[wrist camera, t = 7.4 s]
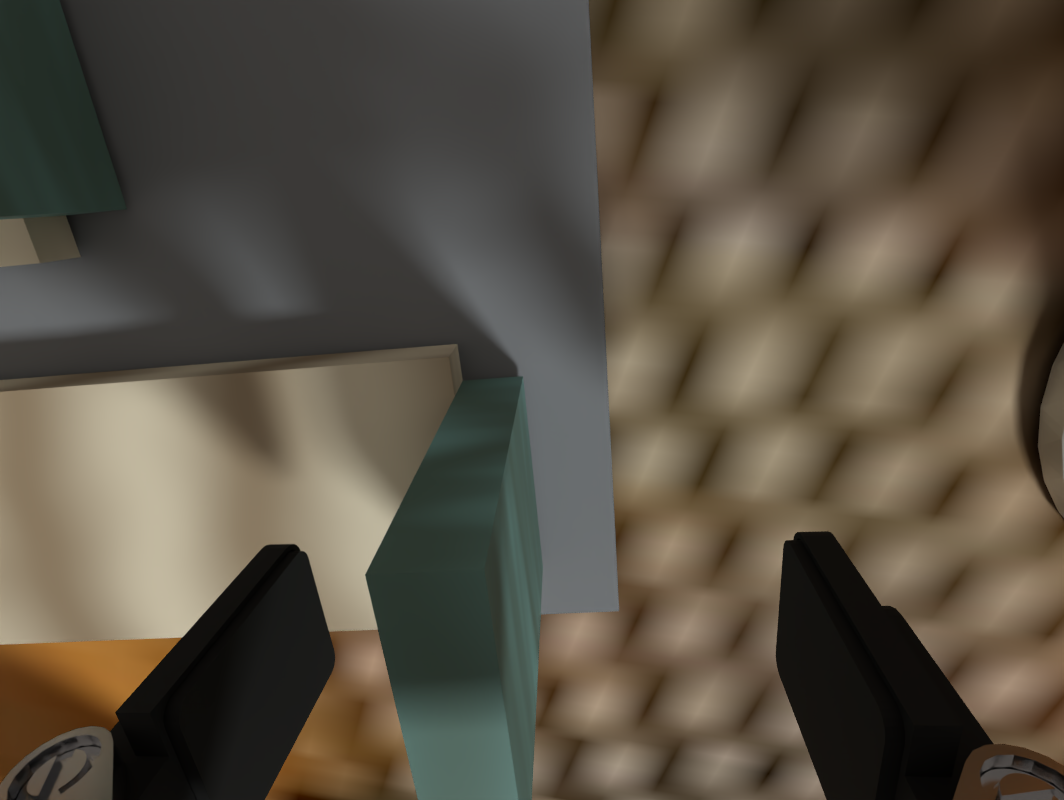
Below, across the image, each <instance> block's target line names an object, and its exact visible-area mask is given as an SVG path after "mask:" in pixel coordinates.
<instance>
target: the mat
mask: <svg viewBox="0 0 1064 800" xmlns="http://www.w3.org/2000/svg"><path fill="white" fill-rule="evenodd" d="M59 1H60V4H61V7H62V10H63V13H64V16H65V19H66V22H67V25H68V28H69V31H70V34H71V38H72V41H73V44H74V47H75V50H76V53H77V56H78V59H79V62H80V65H81V68H82V72H83V75H84V78H85V81H86V84H87V87H88V90H89V93H90V96H91V99H92V102H93V105H94V109H95V112H96V115H97V118H98V121H99V124H100V127H101V130H102V133H103V136H104V139H105V143H106V146H107V149H108V152H109V155H110V158H111V161H112V164H113V167H114V170H115V173H116V176H117V180H118V183H119V186H120V189H121V192H122V195H123V198H124V201H125V204H126V207H127V209H124V210H115V211H105V212H95V213H85V214H76V215H66V217H67V220H68V223H69V225H70V228H71V231H72V234H73V237H74V239H75V242H76V245H77V248H78V250H79V253H80V256H81V257H78V258H71V259H65V260H58V261H52V262H45V263H37V264H27V265H17V266H6V267H0V380H8V379H20V378H33V377H45V376H58V375H71V374H83V373H96V372H109V371H121V370H134V369H146V368H159V367H172V366H184V365H197V364H210V363H222V362H235V361H248V360H260V359H273V358H285V357H298V356H311V355H323V354H336V353H349V352H361V351H374V350H387V349H399V348H412V347H424V346H437V345H450V344H458V351H459V358H460V365H461V372H462V379H463V381H464V380H478V379H491V378H505V377H518V376H523V380H524V390H525V400H526V409H527V419H528V428H529V438H530V448H531V457H532V467H533V476H534V486H535V496H536V505H537V515H538V524H539V534H540V544H541V553H542V563H543V576H542V597H541V614H559V613H584V612H608V611H619V600H618V580H617V560H616V540H615V520H614V500H613V480H612V460H611V440H610V420H609V400H608V380H607V360H606V340H605V320H604V300H603V280H602V260H601V240H600V220H599V200H598V180H597V160H596V140H595V120H594V100H593V80H592V60H591V40H590V20H589V0H59Z"/></svg>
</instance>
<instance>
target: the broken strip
mask: <svg viewBox="0 0 1064 800" xmlns="http://www.w3.org/2000/svg"><path fill="white" fill-rule="evenodd" d="M124 209H127V207H126V204H125V201H124V198H123V195H122V192H121V189H120V186H119V183H118V180H117V176H116V173H115V170H114V167H113V164H112V161H111V158H110V155H109V152H108V149H107V146H106V143H105V139H104V136H103V133H102V130H101V127H100V124H99V121H98V118H97V115H96V112H95V109H94V105H93V102H92V99H91V96H90V93H89V90H88V87H87V84H86V81H85V78H84V75H83V72H82V68H81V65H80V62H79V59H78V56H77V53H76V50H75V47H74V44H73V41H72V38H71V34H70V31H69V28H68V25H67V22H66V19H65V16H64V13H63V10H62V7H61V4H60V1H59V0H0V267H6V266H17V265H27V264H37V263H45V262H52V261H58V260H65V259H71V258H78V257H81V256H80V253H79V250H78V248H77V245H76V242H75V239H74V237H73V234H72V231H71V228H70V225H69V223H68V220H67V217H66V215H76V214H85V213H95V212H105V211H115V210H124Z"/></svg>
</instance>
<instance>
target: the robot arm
mask: <svg viewBox="0 0 1064 800" xmlns="http://www.w3.org/2000/svg"><path fill="white" fill-rule="evenodd" d="M1038 449H1039V455H1040V461H1041V467H1042V473H1043V478H1044V482H1045V484H1046V486H1047V489H1048V491H1049V493H1050V495H1051V497H1052V499H1053V501H1054V504H1055V506H1056V508H1057V510H1058V512H1059V513H1060V514H1061V515H1062V516H1063V518H1064V343H1063V345H1062V347H1061V349H1060V351H1059V353H1058V355H1057V357H1056V359H1055V361H1054V363H1053V366H1052V369H1051V373H1050V376H1049V380H1048V383H1047V386H1046V390H1045V393H1044V397H1043V400H1042V404H1041V408H1040V423H1039V437H1038ZM334 662H335V653H334V648H333V645H332V641H331V638H330V634H329V630H328V627H327V623H326V619H325V616H324V612H323V609H322V605H321V601H320V598H319V594H318V590H317V587H316V583H315V580H314V576H313V572H312V569H311V565H310V561H309V558H308V555H307V553H306V552H304V551H301V550H300V548H299V547H298V546H297V545H295V544H269V545H266V546H264V547H263V548H262V549H261V550H260V551H259V552H258V553H257V554H256V556H255V557H254V558H253V559H252V560H251V561H250V562H249V563H248V565H247V566H246V567H245V568H244V569H243V570H242V571H241V572H240V574H239V575H238V576H237V577H236V578H235V579H234V580H233V581H232V582H231V584H230V585H229V586H228V587H227V588H226V589H225V590H224V591H223V593H222V594H221V595H220V596H219V597H218V598H217V599H216V600H215V601H214V603H213V604H212V605H211V606H210V607H209V608H208V609H207V610H206V612H205V613H204V614H203V615H202V616H201V617H200V618H199V619H198V621H197V622H196V623H195V624H194V625H193V626H192V627H191V628H190V629H189V631H188V632H187V633H186V634H185V635H184V636H183V637H182V638H181V640H180V641H179V642H178V643H177V644H176V645H175V646H174V647H173V649H172V650H171V651H170V652H169V653H168V654H167V655H166V656H165V657H164V659H163V660H162V661H161V662H160V663H159V664H158V665H157V666H156V668H155V669H154V670H153V671H152V672H151V673H150V674H149V675H148V677H147V678H146V679H145V680H144V681H143V682H142V683H141V684H140V685H139V687H138V688H137V689H136V690H135V691H134V692H133V693H132V694H131V696H130V697H129V698H128V699H127V700H126V701H125V702H124V703H123V705H122V706H121V707H120V708H119V709H118V710H117V711H116V712H115V713H116V715H117V717H118V719H119V722H118V723H117V724H116V725H115V726H114V728H113V729H112V730H111V731H108V730H107V729H105V728H104V727H96V726H89V727H83V728H78V729H75V730H72V731H69V732H67V733H64V734H61V735H59V736H57V737H55V738H54V739H52V740H50V741H48V742H46V743H44V744H42V745H41V746H40V747H38V748H37V749H35V750H34V751H33V752H31V753H30V754H29V755H27V756H26V757H25V758H23V759H22V760H21V761H20V762H19V763H18V764H17V765H16V766H15V767H14V768H13V769H12V770H11V771H10V772H9V773H8V775H7V776H6V777H5V778H4V780H3V781H2V782H1V784H0V800H265V798H266V796H267V794H268V793H269V791H270V789H271V787H272V785H273V783H274V781H275V779H276V777H277V775H278V774H279V772H280V770H281V768H282V766H283V764H284V762H285V760H286V758H287V756H288V755H289V753H290V751H291V749H292V747H293V745H294V743H295V741H296V739H297V737H298V736H299V734H300V732H301V730H302V728H303V726H304V724H305V722H306V720H307V718H308V717H309V715H310V713H311V711H312V709H313V707H314V705H315V703H316V701H317V699H318V698H319V696H320V694H321V692H322V690H323V688H324V686H325V684H326V682H327V680H328V679H329V677H330V675H331V673H332V670H333V667H334ZM776 662H777V668H778V672H779V675H780V678H781V681H782V683H783V686H784V688H785V691H786V694H787V696H788V699H789V702H790V704H791V707H792V710H793V712H794V715H795V717H796V720H797V723H798V725H799V728H800V731H801V733H802V736H803V738H804V741H805V744H806V746H807V749H808V752H809V754H810V757H811V760H812V762H813V765H814V767H815V770H816V773H817V775H818V778H819V781H820V783H821V786H822V789H823V791H824V794H825V796H826V799H827V800H1064V766H1063V765H1062V764H1060V763H1058V762H1056V761H1055V760H1053V759H1051V758H1049V757H1047V756H1045V755H1042V754H1040V753H1037V752H1034V751H1032V750H1029V749H1027V748H1023V747H1018V746H1013V745H1007V744H993V743H992V741H991V740H990V738H989V737H988V736H987V734H986V733H985V731H984V730H983V729H982V727H981V726H980V724H979V723H978V721H977V720H976V719H975V717H974V716H973V714H972V713H971V712H970V710H969V709H968V707H967V706H966V705H965V703H964V702H963V700H962V699H961V698H960V696H959V695H958V693H957V692H956V691H955V689H954V688H953V686H952V685H951V684H950V682H949V681H948V679H947V678H946V677H945V675H944V674H943V672H942V671H941V670H940V668H939V667H938V665H937V664H936V663H935V661H934V660H933V658H932V657H931V656H930V654H929V653H928V651H927V650H926V649H925V647H924V646H923V644H922V643H921V642H920V640H919V639H918V637H917V636H916V635H915V633H914V632H913V630H912V629H911V627H910V626H909V625H908V623H907V622H906V620H905V619H904V618H903V616H902V615H901V614H900V613H899V612H898V611H897V610H896V609H895V608H893V607H891V606H881V604H880V603H879V601H878V600H877V598H876V597H875V596H874V594H873V593H872V591H871V590H870V588H869V587H868V585H867V584H866V582H865V581H864V579H863V578H862V576H861V575H860V573H859V572H858V571H857V569H856V568H855V566H854V565H853V563H852V562H851V560H850V559H849V557H848V556H847V554H846V553H845V551H844V550H843V549H842V547H841V546H840V544H839V543H838V541H837V540H836V538H835V537H834V535H833V534H832V533H831V532H828V531H827V532H797V533H796V534H795V536H794V540H786V541H785V543H784V548H783V561H782V575H781V589H780V603H779V617H778V631H777V644H776Z"/></svg>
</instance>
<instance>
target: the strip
mask: <svg viewBox="0 0 1064 800" xmlns="http://www.w3.org/2000/svg"><path fill="white" fill-rule="evenodd" d="M269 544H295V545H297V546H298V547H299V548H300V550H301V551H304V552H306V553H307V555H308V558H309V561H310V565H311V569H312V572H313V576H314V580H315V583H316V587H317V590H318V594H319V598H320V601H321V605H322V609H323V612H324V616H325V619H326V623H327V627H328V630H329V631H352V630H377V629H378V632H379V636H380V641H381V645H382V649H383V653H384V658H385V662H386V666H387V670H388V675H389V679H390V683H391V687H392V691H393V696H394V700H395V704H396V708H397V713H398V717H399V721H400V725H401V730H402V734H403V738H404V742H405V747H406V751H407V755H408V759H409V764H410V768H411V772H412V776H413V781H414V785H415V789H416V793H417V797H418V800H532V781H533V761H534V740H535V720H536V699H537V679H538V658H539V638H540V617H541V597H542V576H543V563H542V553H541V544H540V534H539V524H538V515H537V505H536V496H535V486H534V476H533V467H532V457H531V448H530V438H529V428H528V419H527V409H526V400H525V390H524V380H523V376H518V377H505V378H491V379H478V380H464V381H463V379H462V372H461V365H460V358H459V351H458V344H450V345H437V346H424V347H412V348H399V349H387V350H374V351H361V352H349V353H336V354H323V355H311V356H298V357H285V358H273V359H260V360H248V361H235V362H222V363H210V364H197V365H184V366H172V367H159V368H146V369H134V370H121V371H109V372H96V373H83V374H71V375H58V376H45V377H33V378H20V379H8V380H0V645H1V644H26V643H51V642H76V641H101V640H127V639H152V638H177V637H183V636H184V635H185V634H186V633H187V632H188V631H189V629H190V628H191V627H192V626H193V625H194V624H195V623H196V622H197V621H198V619H199V618H200V617H201V616H202V615H203V614H204V613H205V612H206V610H207V609H208V608H209V607H210V606H211V605H212V604H213V603H214V601H215V600H216V599H217V598H218V597H219V596H220V595H221V594H222V593H223V591H224V590H225V589H226V588H227V587H228V586H229V585H230V584H231V582H232V581H233V580H234V579H235V578H236V577H237V576H238V575H239V574H240V572H241V571H242V570H243V569H244V568H245V567H246V566H247V565H248V563H249V562H250V561H251V560H252V559H253V558H254V557H255V556H256V554H257V553H258V552H259V551H260V550H261V549H262V548H263V547H264V546H266V545H269Z"/></svg>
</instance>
